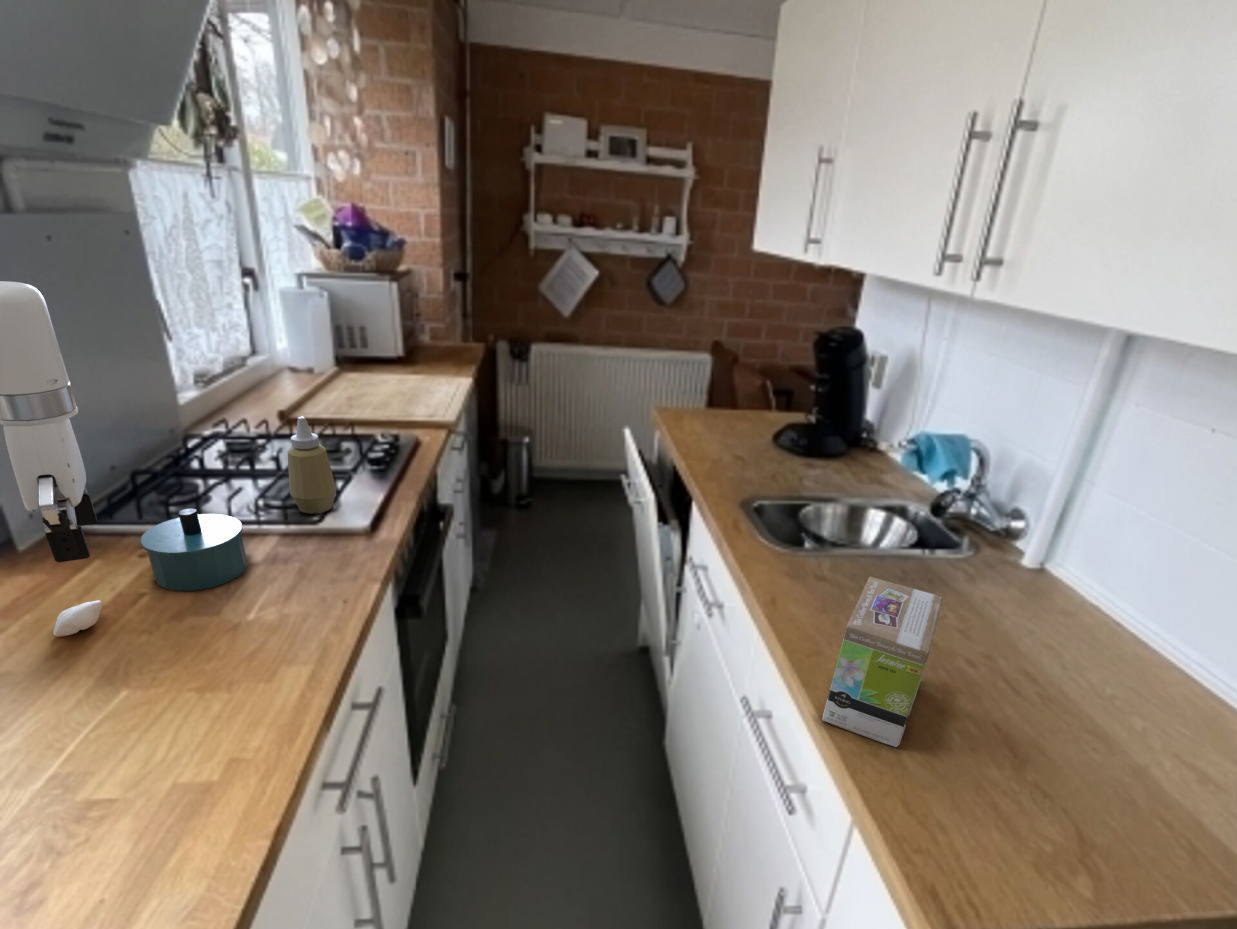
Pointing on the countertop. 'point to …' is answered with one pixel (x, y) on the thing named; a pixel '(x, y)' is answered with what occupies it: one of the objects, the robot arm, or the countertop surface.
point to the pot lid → (191, 533)
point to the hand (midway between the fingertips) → (78, 541)
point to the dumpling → (77, 618)
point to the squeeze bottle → (310, 472)
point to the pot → (200, 567)
